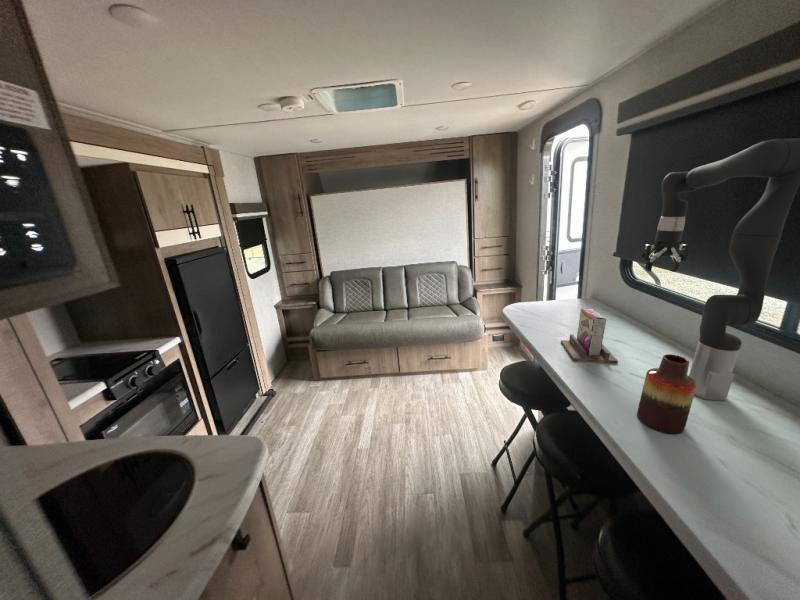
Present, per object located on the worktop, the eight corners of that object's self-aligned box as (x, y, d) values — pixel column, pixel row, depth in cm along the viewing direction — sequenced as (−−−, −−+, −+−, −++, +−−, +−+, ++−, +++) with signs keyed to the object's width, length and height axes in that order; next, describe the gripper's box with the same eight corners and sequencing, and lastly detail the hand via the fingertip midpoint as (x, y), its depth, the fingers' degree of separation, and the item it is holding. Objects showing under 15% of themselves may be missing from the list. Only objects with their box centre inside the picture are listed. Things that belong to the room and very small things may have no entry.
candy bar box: (574, 343, 138) (580, 308, 133) (586, 343, 138) (592, 308, 133) (587, 356, 128) (594, 317, 123) (600, 356, 127) (607, 317, 122)
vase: (636, 405, 99) (650, 346, 93) (682, 418, 93) (699, 355, 87) (636, 425, 91) (651, 361, 85) (686, 440, 85) (706, 373, 79)
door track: (600, 344, 139) (601, 335, 138) (617, 363, 124) (619, 353, 122) (560, 342, 142) (562, 334, 141) (572, 360, 127) (574, 351, 125)
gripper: (654, 230, 117) (645, 273, 122) (699, 229, 115) (687, 273, 119) (643, 228, 124) (635, 269, 129) (685, 227, 122) (675, 269, 127)
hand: (660, 271), depth 124 cm, fingers open, 8 cm apart
